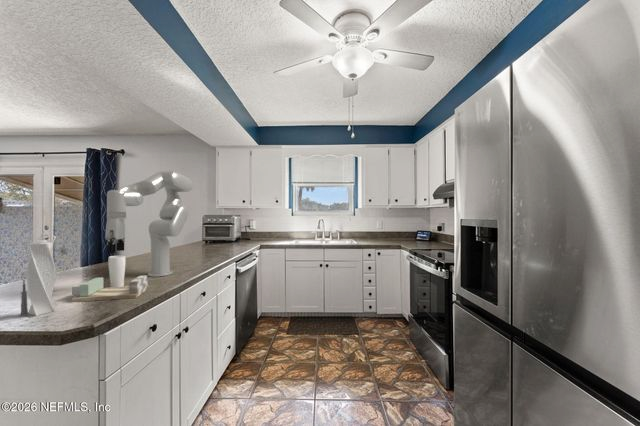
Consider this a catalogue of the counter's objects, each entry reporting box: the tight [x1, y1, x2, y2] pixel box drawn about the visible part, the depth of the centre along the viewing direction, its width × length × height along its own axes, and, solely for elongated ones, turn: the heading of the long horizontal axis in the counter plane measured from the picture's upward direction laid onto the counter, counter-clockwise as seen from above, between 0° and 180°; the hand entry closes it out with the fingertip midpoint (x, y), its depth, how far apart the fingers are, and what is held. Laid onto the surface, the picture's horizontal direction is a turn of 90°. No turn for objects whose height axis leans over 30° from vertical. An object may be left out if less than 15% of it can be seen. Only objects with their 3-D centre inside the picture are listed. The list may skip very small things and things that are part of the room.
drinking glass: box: [107, 254, 127, 287], centre depth 138 cm, size 7×7×15 cm
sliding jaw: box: [71, 277, 105, 296], centre depth 124 cm, size 13×7×5 cm, turn 14°
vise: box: [71, 274, 149, 303], centre depth 127 cm, size 16×23×6 cm
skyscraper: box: [19, 235, 57, 319], centre depth 104 cm, size 8×8×28 cm
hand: (116, 251), depth 138 cm, fingers open, 9 cm apart
